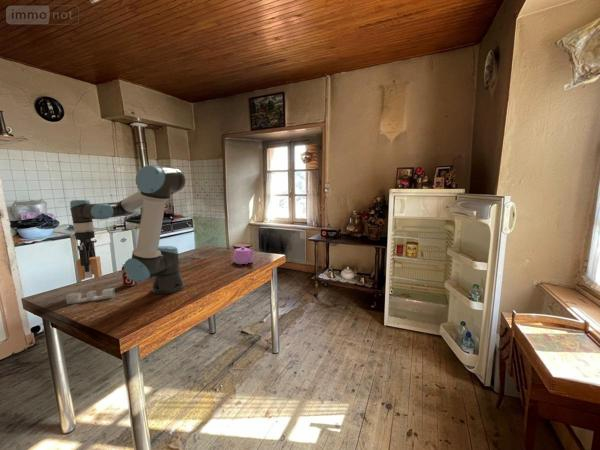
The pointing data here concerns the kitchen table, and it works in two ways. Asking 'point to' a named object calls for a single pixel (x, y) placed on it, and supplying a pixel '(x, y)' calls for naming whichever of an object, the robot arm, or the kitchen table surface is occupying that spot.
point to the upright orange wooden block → (95, 266)
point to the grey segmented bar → (90, 296)
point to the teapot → (243, 256)
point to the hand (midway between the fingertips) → (91, 275)
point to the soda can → (127, 278)
